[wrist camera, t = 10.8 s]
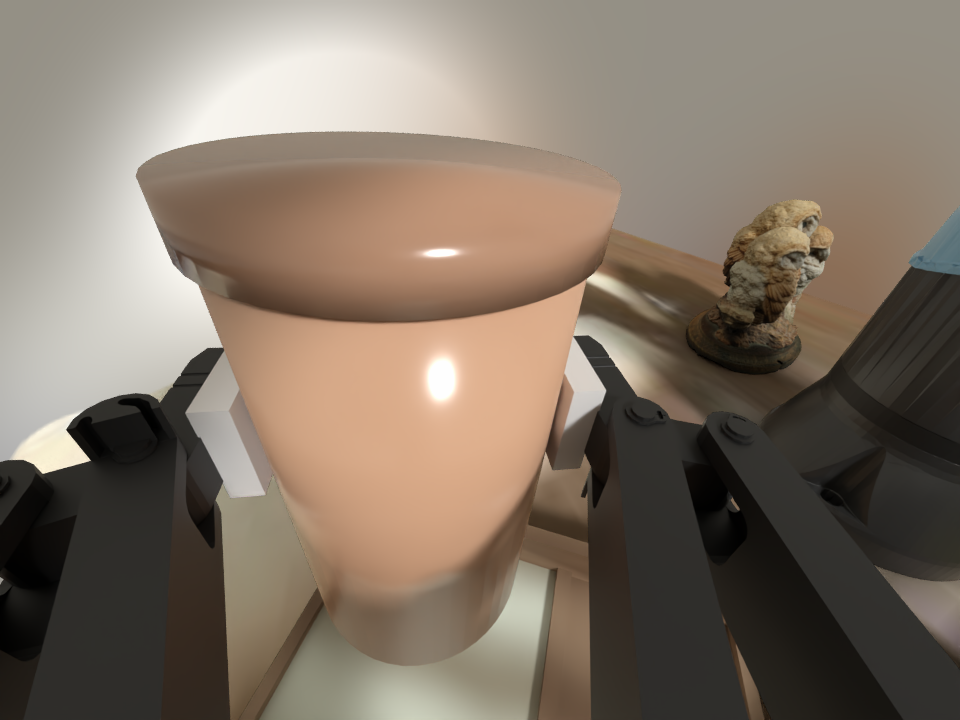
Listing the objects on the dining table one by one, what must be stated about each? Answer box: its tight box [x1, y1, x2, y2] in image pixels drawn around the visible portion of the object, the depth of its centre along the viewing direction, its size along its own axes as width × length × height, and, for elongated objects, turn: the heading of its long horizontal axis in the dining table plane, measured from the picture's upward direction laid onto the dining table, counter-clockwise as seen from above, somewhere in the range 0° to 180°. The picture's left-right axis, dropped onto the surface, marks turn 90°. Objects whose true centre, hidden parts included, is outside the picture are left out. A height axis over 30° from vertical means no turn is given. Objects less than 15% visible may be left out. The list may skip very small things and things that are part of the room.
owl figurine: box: [686, 199, 834, 374], centre depth 44 cm, size 18×12×17 cm, turn 132°
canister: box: [136, 132, 622, 666], centre depth 11 cm, size 7×7×13 cm
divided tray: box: [239, 525, 764, 720], centre depth 19 cm, size 12×22×5 cm, turn 73°
